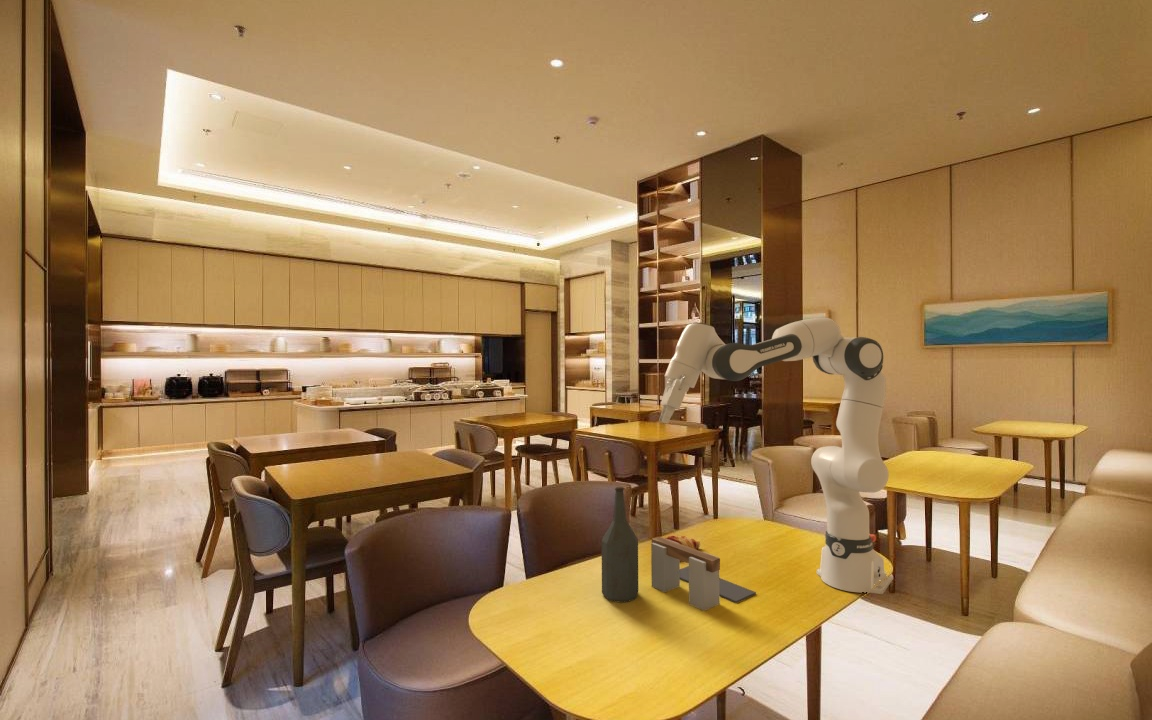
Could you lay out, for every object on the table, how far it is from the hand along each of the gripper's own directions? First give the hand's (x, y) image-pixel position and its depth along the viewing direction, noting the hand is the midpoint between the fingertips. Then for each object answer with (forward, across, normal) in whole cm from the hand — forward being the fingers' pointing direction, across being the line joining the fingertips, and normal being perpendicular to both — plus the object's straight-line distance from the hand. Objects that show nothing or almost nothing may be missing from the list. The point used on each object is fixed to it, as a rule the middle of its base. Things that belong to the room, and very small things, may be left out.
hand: (663, 422), depth 145 cm
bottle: (+49, +5, -7) cm, 50 cm away
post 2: (+41, +1, -28) cm, 49 cm away
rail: (+33, +5, -20) cm, 38 cm away
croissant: (+39, +37, -24) cm, 59 cm away
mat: (+38, +13, -31) cm, 51 cm away
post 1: (+43, +11, -19) cm, 48 cm away
